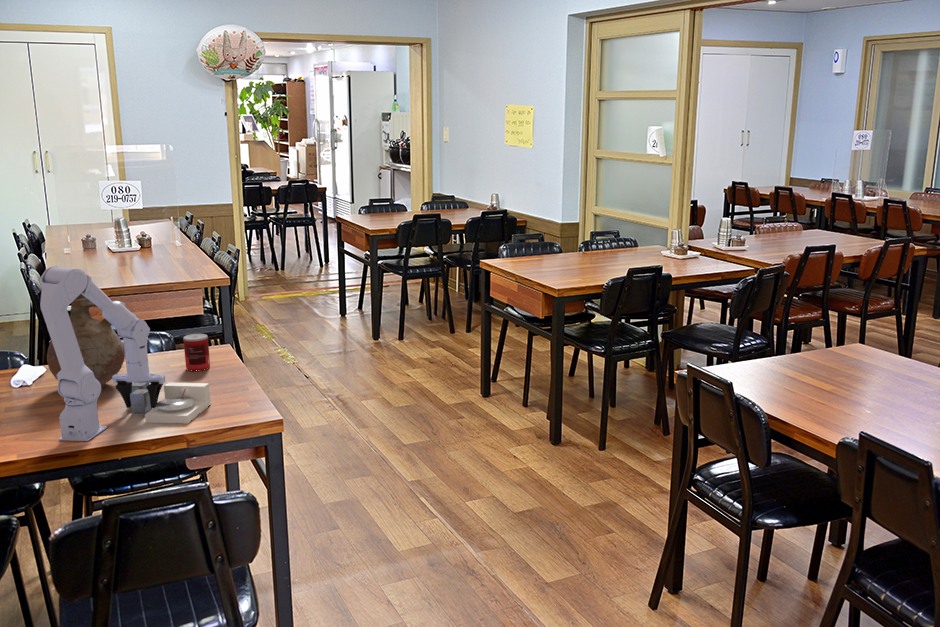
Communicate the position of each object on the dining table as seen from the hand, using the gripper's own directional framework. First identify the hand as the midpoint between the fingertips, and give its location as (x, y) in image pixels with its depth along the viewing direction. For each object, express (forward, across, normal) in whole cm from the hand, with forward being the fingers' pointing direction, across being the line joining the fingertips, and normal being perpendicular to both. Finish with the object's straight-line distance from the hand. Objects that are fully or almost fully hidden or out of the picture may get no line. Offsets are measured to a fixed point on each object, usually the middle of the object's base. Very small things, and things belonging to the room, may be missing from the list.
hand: (141, 407), depth 223 cm
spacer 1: (+2, +4, -7) cm, 8 cm away
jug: (+2, +27, -20) cm, 34 cm away
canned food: (+2, +2, -42) cm, 42 cm away
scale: (+1, -11, 0) cm, 11 cm away
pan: (-2, -11, +2) cm, 11 cm away
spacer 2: (+2, 0, 0) cm, 2 cm away
